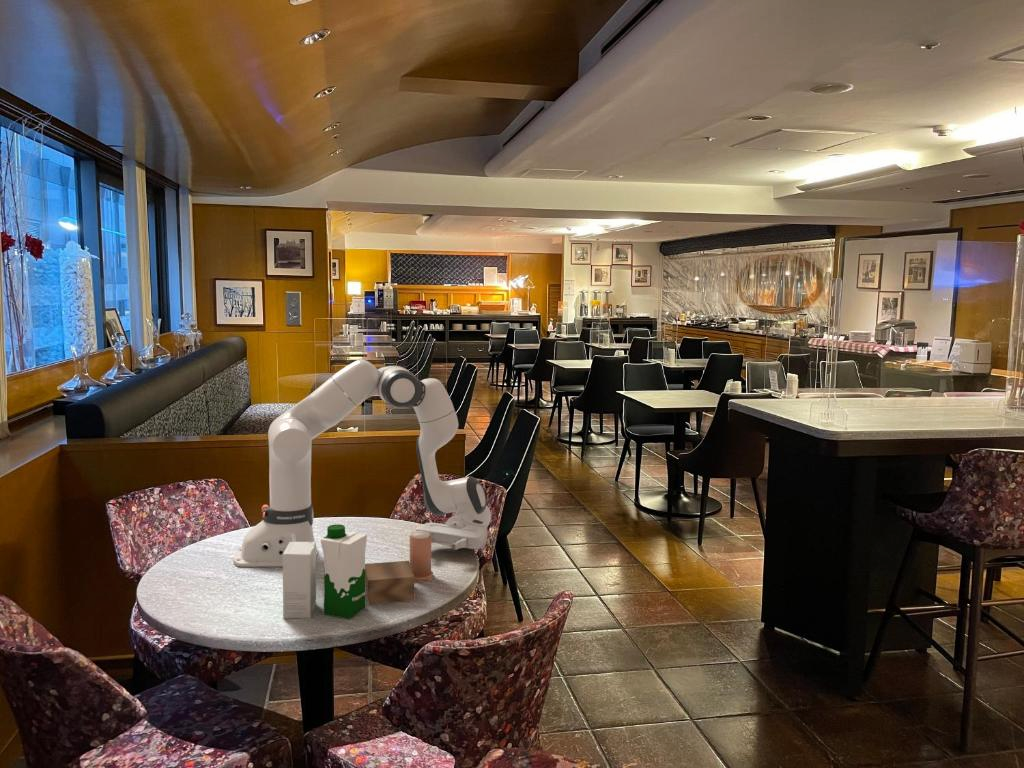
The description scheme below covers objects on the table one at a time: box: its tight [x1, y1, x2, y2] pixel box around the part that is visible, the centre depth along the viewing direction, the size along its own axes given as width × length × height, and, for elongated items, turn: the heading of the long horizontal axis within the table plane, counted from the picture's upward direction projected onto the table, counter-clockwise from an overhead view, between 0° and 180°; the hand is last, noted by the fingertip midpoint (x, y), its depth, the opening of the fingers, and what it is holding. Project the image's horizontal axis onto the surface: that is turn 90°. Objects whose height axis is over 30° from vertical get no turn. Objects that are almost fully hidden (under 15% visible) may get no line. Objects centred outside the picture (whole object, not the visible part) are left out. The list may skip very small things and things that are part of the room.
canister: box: [409, 530, 434, 583], centre depth 195 cm, size 7×7×12 cm
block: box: [365, 560, 415, 605], centre depth 185 cm, size 11×11×6 cm
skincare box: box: [282, 541, 317, 620], centre depth 173 cm, size 8×7×16 cm
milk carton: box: [320, 523, 368, 620], centre depth 173 cm, size 9×9×20 cm
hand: (438, 544), depth 205 cm, fingers open, 8 cm apart
